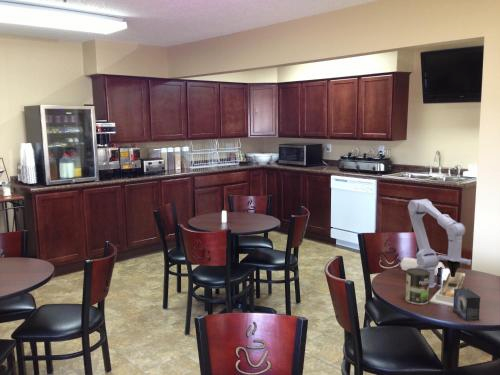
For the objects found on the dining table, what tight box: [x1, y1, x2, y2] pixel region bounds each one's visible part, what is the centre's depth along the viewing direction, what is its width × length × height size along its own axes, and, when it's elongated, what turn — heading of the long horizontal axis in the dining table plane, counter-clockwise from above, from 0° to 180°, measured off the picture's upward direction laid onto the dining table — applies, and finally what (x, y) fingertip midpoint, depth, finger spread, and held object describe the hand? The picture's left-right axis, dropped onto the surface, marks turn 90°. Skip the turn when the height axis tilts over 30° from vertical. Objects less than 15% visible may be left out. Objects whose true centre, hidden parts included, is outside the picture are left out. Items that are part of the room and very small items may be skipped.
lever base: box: [429, 279, 466, 308], centre depth 219 cm, size 13×25×6 cm, turn 144°
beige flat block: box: [435, 290, 454, 303], centre depth 215 cm, size 9×8×2 cm
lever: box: [442, 271, 466, 295], centre depth 222 cm, size 7×17×5 cm, turn 144°
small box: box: [452, 287, 481, 322], centre depth 198 cm, size 11×6×10 cm, turn 5°
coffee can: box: [404, 268, 430, 306], centre depth 214 cm, size 10×10×14 cm
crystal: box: [399, 256, 446, 276], centre depth 255 cm, size 7×7×24 cm
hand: (452, 276), depth 219 cm, fingers closed
